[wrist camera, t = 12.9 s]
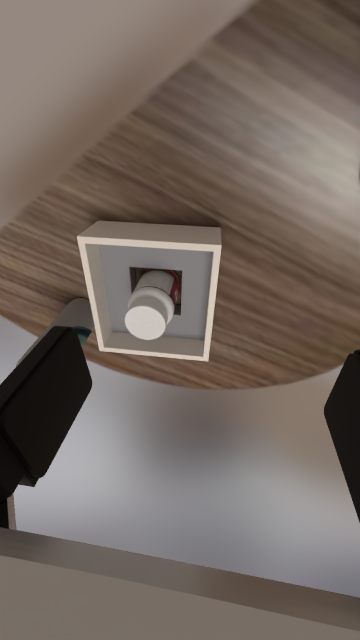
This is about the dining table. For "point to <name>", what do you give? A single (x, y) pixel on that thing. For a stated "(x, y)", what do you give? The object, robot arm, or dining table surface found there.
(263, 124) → the dining table surface
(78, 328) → the lotion bottle
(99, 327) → the box
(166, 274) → the pill bottle
